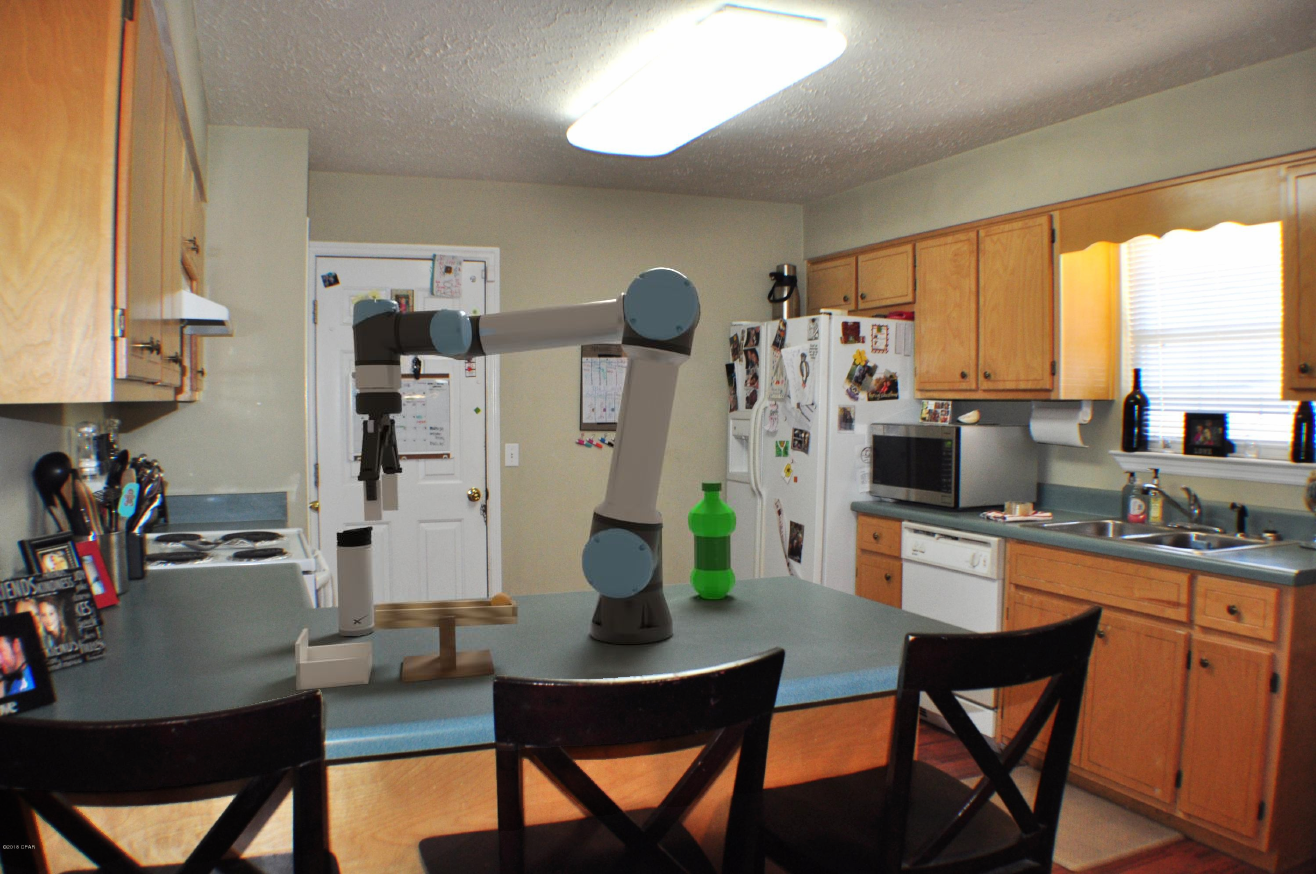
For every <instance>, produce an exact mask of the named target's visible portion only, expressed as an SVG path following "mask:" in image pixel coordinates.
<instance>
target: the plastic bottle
mask: <svg viewBox="0 0 1316 874" xmlns="http://www.w3.org/2000/svg"><path fill="white" fill-rule="evenodd" d="M701 491H702V492H704V493H703V494H704V498H702V500H700V501H699V502H698V503H697V504H695V505H694V507H693V508H692V509H690V511H689V513H688V516H687V524H688V525H687V526H688V529H689V530H690V531H691V533H692V534H693V554H694V555H693V560H694V562H693V564H694V567H692V570H691V572H690V576H689V582H690V584H691V587H692V588H693V590H695V592H696V593H697V594H698V595H699V596H700V597H701V598H702V599H706V600H720V599H724V598H726V596H727V595H728V594H729V593H730V592H731V591H732V590H733V588H734V586H735V584H736V576H735V573H734V571H733V568H732V566H731V565H732V562H731V560H732V558H731V556H732V555H731V554H732V553H731V552H732V550H731V534H732V533H733V532H734V531H735V530H736V528H737V527H736V526H737V515H736V513H735V510H733V509H732V508H731V507H730V506H729V505H728V504H727V503H726V502H725V501H723V500H722V499H721V498H720V492H722V491H723V489H722V482H721V481H703V482H702V481H701Z"/></svg>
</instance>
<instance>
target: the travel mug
mask: <svg viewBox="0 0 1316 874" xmlns="http://www.w3.org/2000/svg"><path fill="white" fill-rule="evenodd" d="M372 531H374V528H373V526H372V525H371V526H366V527H359V528H358V527H357V528H352V529H346V530H343V531H342V532H339V531H337V532H336V541H337V542H336V575H337V604H338V605H337V608H338V609H337V611H338V615H337V616H338V634H339V635H340V636H341V637H344V636H358V635H364V636H366V635H365V634H368V633H371V632H372V633H374V631H375V630H374V611H375V608H374V603H375V602H374V601H375V600H374V573H373V572H374V571H373V566H374V565H373V564H374V563H373V547H372V546H373V543H372V542H373V541H372V538H373V537H372ZM372 633H371V634H372ZM368 635H369V634H368ZM358 637H359V636H358Z"/></svg>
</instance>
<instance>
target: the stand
mask: <svg viewBox="0 0 1316 874" xmlns="http://www.w3.org/2000/svg"><path fill="white" fill-rule="evenodd" d="M439 626H440V627H438V630H439V631H438V633H439V635H438V637H439V639H438V640H439V653H429V654H421V655H420V654H419V655H418V654H417V655H409V656H403V659H402V671H401V683H407V682H409V683H410V682H418V681H428V680H429V681H431V680H441V679H451V678H460V677H462V678H463V677H471V676H480V675H481V676H483V675H492V674H495V666H494V662H493V658H492V654H491V650H490V649H488V648H487V649H478V650H468V651H457V643H456V640H457V639H456V637H457V636H456V626H455V615H453V616H439Z"/></svg>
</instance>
